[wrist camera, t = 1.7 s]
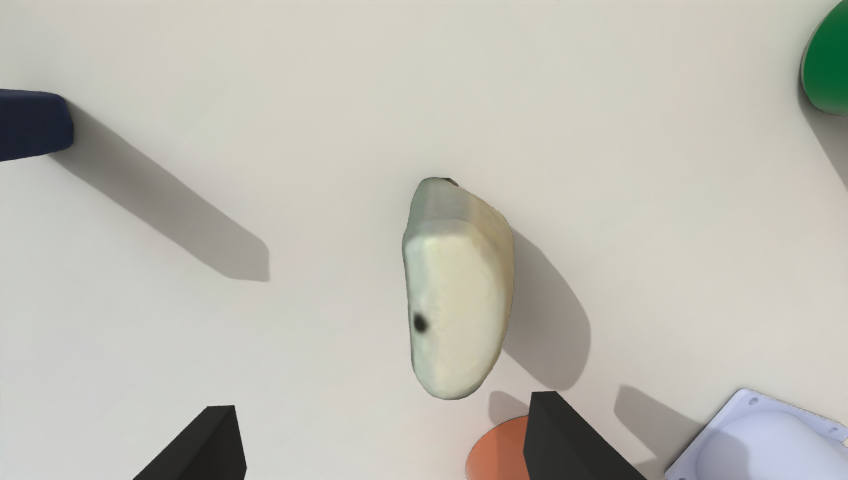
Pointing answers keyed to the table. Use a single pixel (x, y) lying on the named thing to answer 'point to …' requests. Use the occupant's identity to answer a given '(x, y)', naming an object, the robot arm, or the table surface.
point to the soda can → (828, 63)
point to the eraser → (33, 124)
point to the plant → (499, 453)
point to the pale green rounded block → (456, 287)
